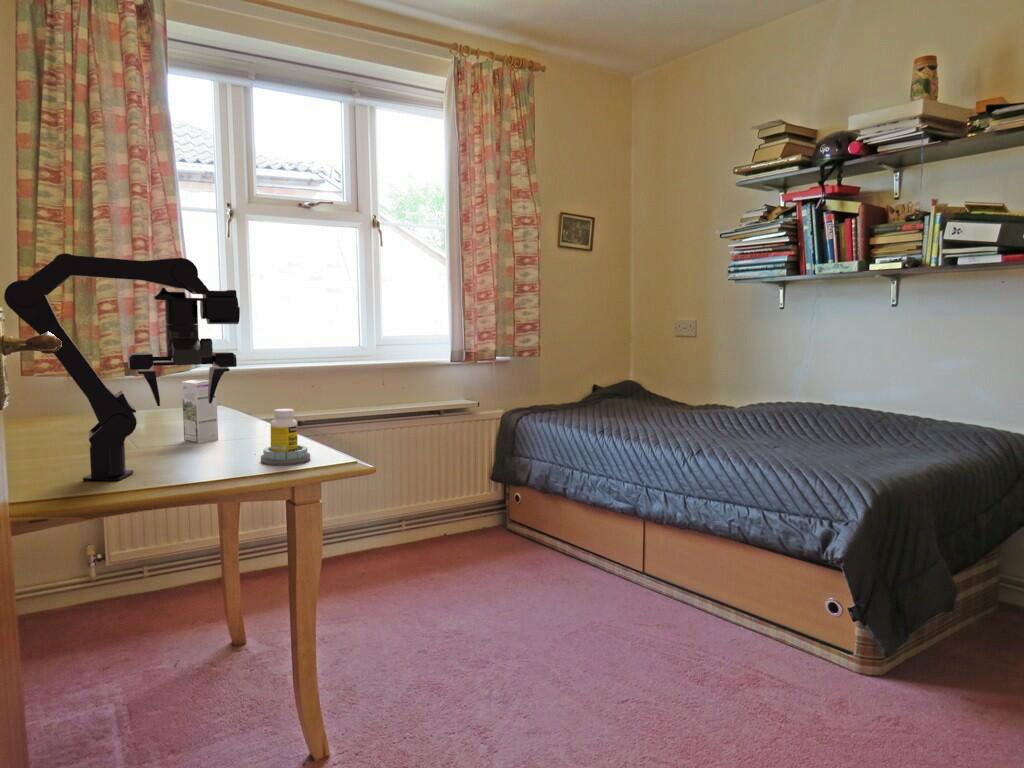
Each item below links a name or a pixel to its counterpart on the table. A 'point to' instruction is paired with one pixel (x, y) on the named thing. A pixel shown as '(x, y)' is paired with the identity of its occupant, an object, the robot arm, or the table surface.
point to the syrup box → (199, 412)
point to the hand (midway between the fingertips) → (184, 404)
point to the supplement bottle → (284, 431)
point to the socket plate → (285, 456)
